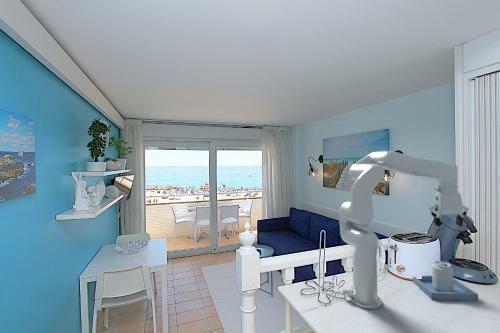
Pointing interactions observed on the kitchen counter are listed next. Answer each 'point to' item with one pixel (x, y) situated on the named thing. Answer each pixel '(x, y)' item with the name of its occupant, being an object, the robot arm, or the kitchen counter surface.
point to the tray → (458, 292)
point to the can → (442, 276)
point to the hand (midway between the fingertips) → (448, 225)
